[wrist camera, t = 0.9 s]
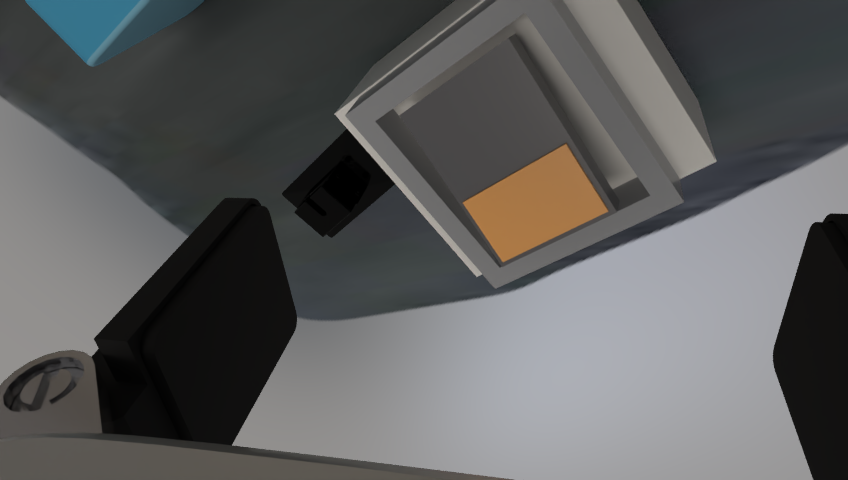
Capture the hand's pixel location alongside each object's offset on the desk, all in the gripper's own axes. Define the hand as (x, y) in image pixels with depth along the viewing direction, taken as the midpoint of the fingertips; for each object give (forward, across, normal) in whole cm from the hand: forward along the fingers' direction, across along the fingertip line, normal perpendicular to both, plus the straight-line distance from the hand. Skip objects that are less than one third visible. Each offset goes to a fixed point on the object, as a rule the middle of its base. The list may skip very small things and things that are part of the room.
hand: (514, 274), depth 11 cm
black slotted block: (+32, +17, +16) cm, 40 cm away
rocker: (+21, +2, +8) cm, 22 cm away
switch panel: (+31, +2, +8) cm, 32 cm away
